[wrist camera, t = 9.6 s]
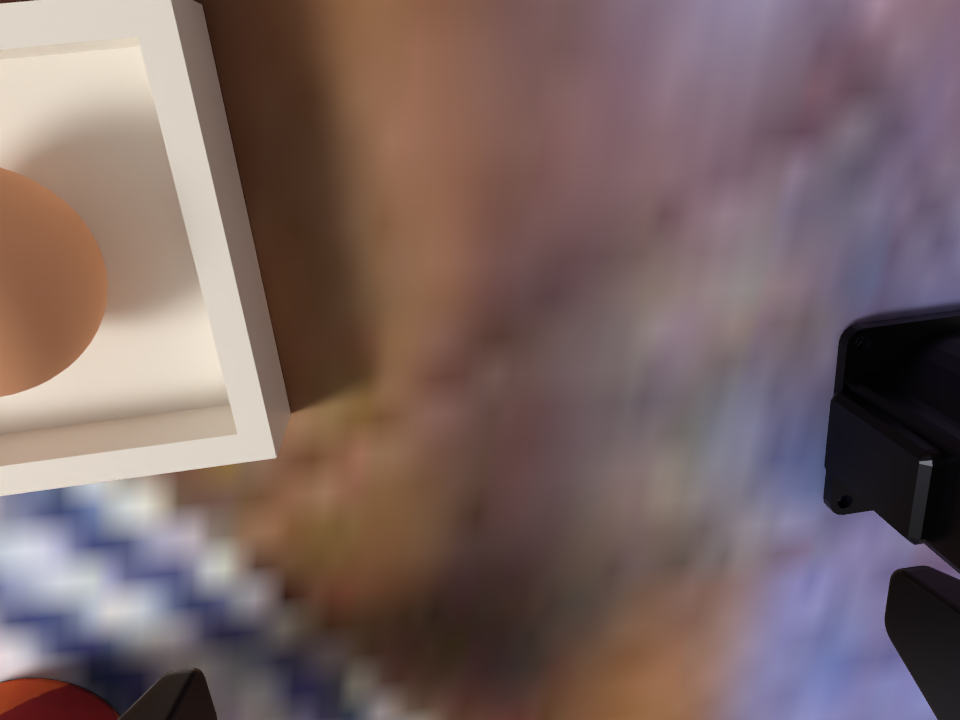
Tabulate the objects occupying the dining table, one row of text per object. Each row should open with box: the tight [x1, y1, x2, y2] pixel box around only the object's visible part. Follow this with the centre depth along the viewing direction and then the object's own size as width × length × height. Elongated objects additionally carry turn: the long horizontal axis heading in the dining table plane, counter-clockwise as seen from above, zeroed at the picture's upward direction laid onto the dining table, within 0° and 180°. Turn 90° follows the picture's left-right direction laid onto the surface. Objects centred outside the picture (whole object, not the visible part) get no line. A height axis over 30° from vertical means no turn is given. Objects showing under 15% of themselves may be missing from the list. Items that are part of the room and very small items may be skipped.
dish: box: [0, 0, 291, 496], centre depth 16 cm, size 11×11×3 cm
